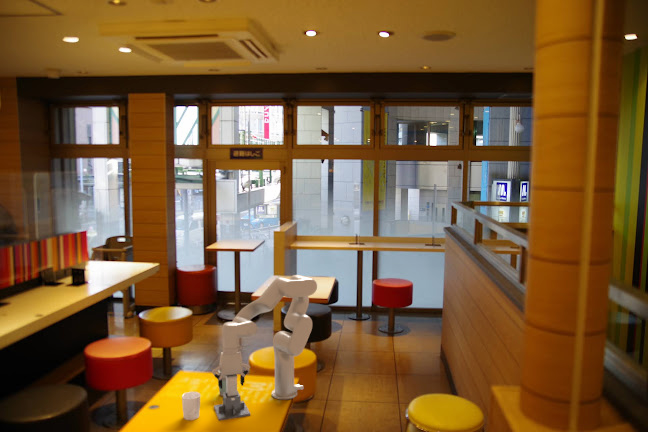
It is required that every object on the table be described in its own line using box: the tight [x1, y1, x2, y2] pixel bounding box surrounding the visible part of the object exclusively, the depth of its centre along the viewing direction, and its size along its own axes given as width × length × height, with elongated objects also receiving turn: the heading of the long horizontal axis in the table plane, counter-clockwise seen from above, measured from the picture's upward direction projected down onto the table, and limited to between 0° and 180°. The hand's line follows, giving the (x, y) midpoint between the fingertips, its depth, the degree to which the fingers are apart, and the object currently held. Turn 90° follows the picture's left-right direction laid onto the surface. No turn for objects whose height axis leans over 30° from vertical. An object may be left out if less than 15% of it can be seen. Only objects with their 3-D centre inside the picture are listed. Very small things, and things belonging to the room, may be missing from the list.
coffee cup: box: [216, 370, 226, 397], centre depth 256 cm, size 8×8×12 cm
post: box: [226, 374, 238, 398], centre depth 237 cm, size 5×5×16 cm
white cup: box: [181, 391, 201, 421], centre depth 232 cm, size 8×8×10 cm
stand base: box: [213, 390, 251, 421], centre depth 237 cm, size 14×14×8 cm
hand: (231, 386), depth 237 cm, fingers open, 9 cm apart
